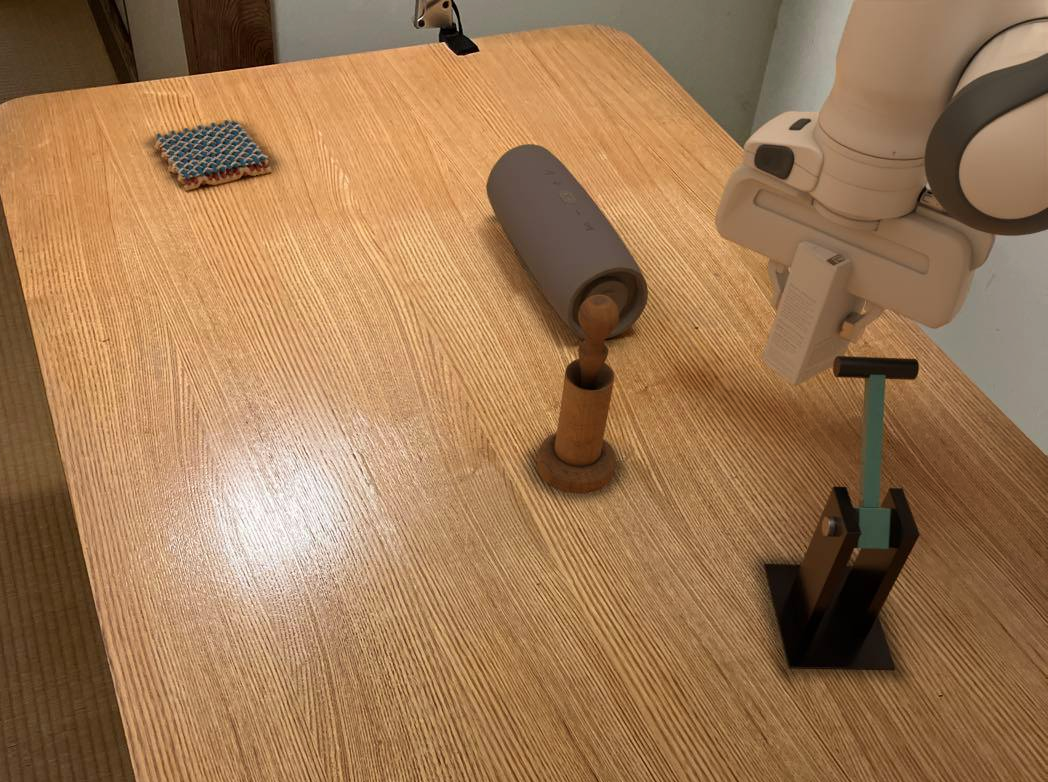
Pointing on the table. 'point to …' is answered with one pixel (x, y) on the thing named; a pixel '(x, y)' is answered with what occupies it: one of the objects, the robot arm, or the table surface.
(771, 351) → the cosmetic box
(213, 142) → the woven mat
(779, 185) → the robot arm
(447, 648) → the table surface
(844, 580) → the bracket
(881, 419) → the lever
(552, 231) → the bluetooth speaker
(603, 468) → the mortar and pestle
